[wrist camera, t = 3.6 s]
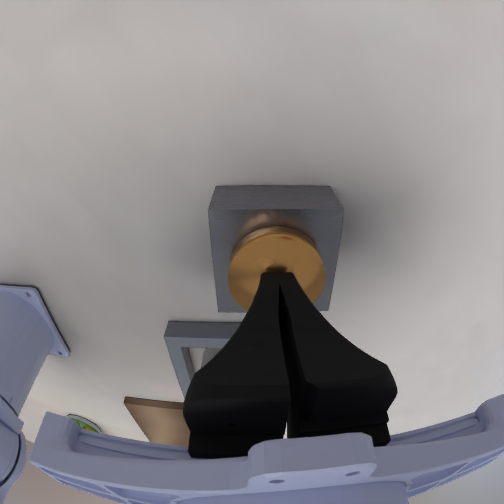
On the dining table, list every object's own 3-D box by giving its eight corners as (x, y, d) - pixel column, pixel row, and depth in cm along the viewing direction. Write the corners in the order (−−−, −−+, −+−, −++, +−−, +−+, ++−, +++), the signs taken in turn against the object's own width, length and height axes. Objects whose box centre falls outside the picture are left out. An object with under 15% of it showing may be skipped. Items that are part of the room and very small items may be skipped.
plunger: (234, 279, 18) (230, 318, 15) (230, 208, 15) (224, 240, 13) (310, 278, 18) (319, 316, 15) (317, 208, 15) (331, 239, 13)
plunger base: (222, 279, 19) (218, 312, 17) (215, 186, 16) (208, 209, 13) (319, 278, 19) (328, 310, 17) (329, 186, 16) (344, 209, 13)
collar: (187, 386, 26) (185, 399, 24) (168, 321, 21) (163, 336, 20) (281, 387, 26) (282, 401, 24) (287, 322, 21) (289, 338, 20)
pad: (152, 438, 33) (151, 443, 33) (125, 396, 28) (123, 402, 27) (236, 445, 33) (236, 450, 33) (230, 405, 27) (230, 412, 27)
